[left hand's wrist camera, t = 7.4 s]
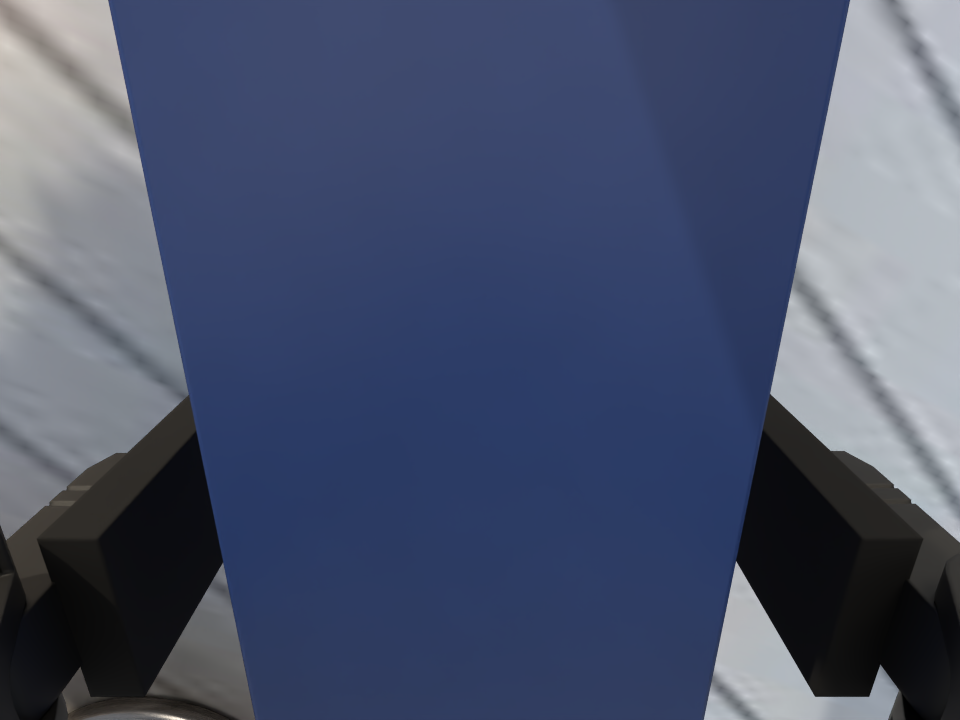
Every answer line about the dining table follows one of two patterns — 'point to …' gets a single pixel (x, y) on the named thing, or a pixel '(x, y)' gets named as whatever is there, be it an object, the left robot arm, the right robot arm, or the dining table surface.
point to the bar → (479, 330)
